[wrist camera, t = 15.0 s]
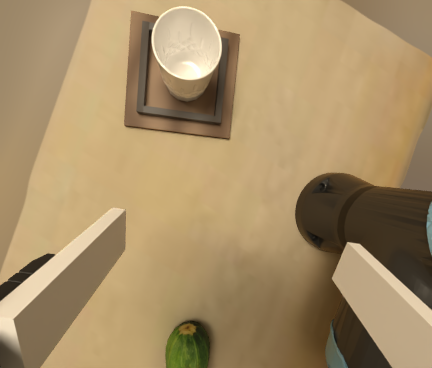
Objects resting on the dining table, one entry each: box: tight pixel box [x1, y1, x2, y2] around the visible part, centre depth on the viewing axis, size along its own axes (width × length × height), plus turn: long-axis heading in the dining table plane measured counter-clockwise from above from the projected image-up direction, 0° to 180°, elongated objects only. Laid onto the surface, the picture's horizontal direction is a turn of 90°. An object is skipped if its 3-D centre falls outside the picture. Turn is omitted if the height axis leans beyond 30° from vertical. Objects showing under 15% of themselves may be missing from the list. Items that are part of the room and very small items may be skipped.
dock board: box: [124, 11, 240, 139], centre depth 32 cm, size 17×17×2 cm
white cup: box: [152, 6, 222, 102], centre depth 28 cm, size 8×8×10 cm
